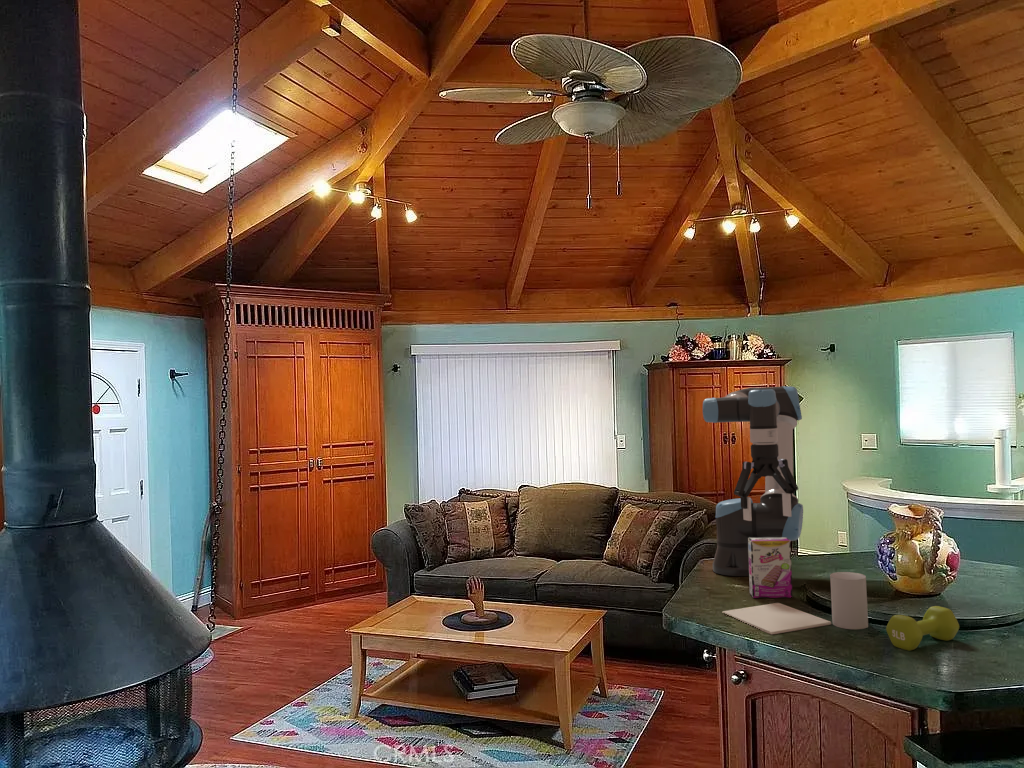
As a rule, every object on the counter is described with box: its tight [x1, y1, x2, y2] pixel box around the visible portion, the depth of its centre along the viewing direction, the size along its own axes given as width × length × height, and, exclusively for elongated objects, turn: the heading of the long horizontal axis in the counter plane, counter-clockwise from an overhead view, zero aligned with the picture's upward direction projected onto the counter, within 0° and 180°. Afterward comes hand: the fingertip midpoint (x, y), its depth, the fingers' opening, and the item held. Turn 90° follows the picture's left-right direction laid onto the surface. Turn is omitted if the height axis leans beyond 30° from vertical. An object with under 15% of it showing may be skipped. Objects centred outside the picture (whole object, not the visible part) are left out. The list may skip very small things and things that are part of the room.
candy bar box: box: [748, 537, 793, 599], centre depth 219 cm, size 11×5×16 cm, turn 84°
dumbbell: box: [885, 605, 960, 652], centre depth 175 cm, size 16×8×7 cm, turn 115°
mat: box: [721, 602, 832, 635], centre depth 198 cm, size 18×20×1 cm
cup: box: [829, 571, 869, 630], centre depth 191 cm, size 8×8×12 cm
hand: (767, 518), depth 219 cm, fingers open, 13 cm apart
